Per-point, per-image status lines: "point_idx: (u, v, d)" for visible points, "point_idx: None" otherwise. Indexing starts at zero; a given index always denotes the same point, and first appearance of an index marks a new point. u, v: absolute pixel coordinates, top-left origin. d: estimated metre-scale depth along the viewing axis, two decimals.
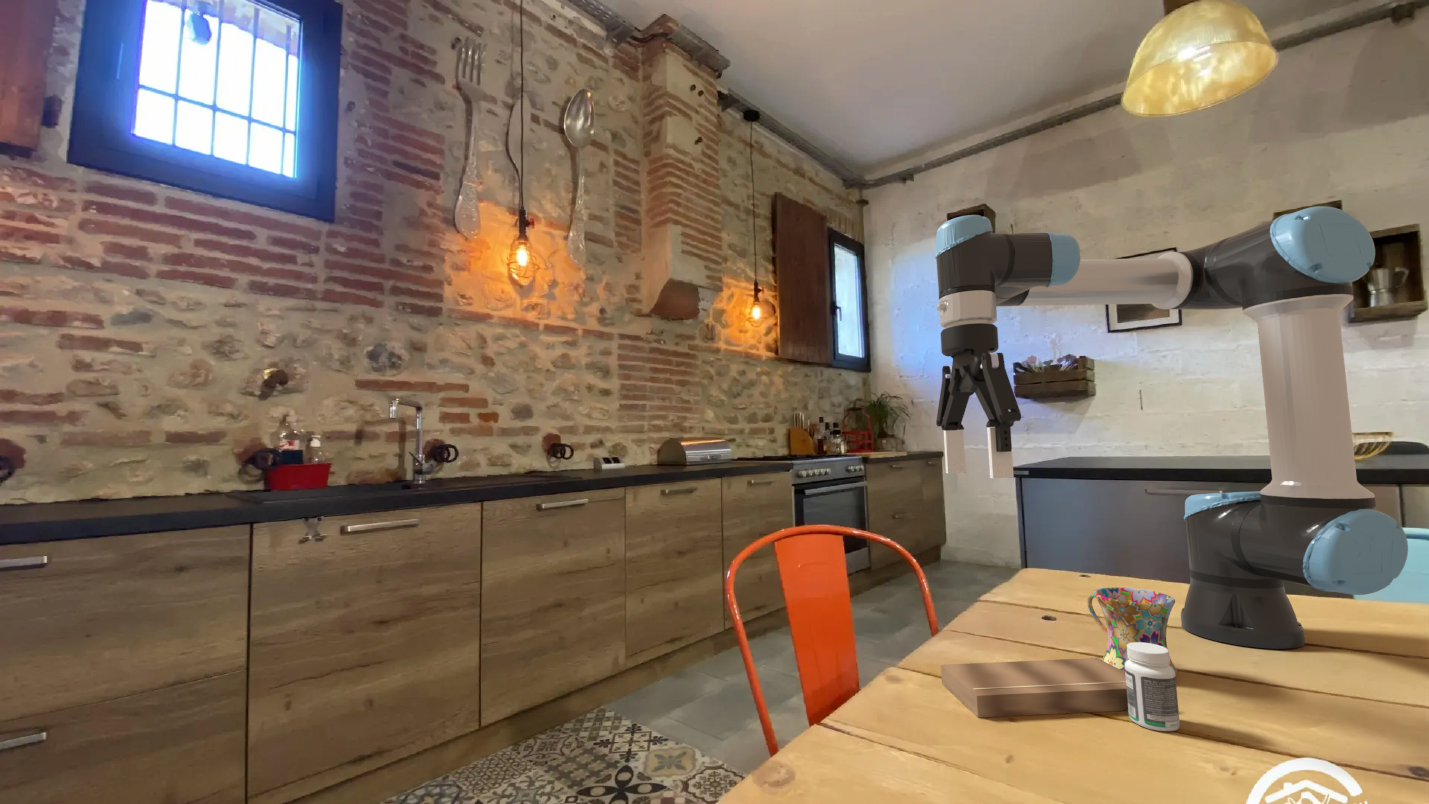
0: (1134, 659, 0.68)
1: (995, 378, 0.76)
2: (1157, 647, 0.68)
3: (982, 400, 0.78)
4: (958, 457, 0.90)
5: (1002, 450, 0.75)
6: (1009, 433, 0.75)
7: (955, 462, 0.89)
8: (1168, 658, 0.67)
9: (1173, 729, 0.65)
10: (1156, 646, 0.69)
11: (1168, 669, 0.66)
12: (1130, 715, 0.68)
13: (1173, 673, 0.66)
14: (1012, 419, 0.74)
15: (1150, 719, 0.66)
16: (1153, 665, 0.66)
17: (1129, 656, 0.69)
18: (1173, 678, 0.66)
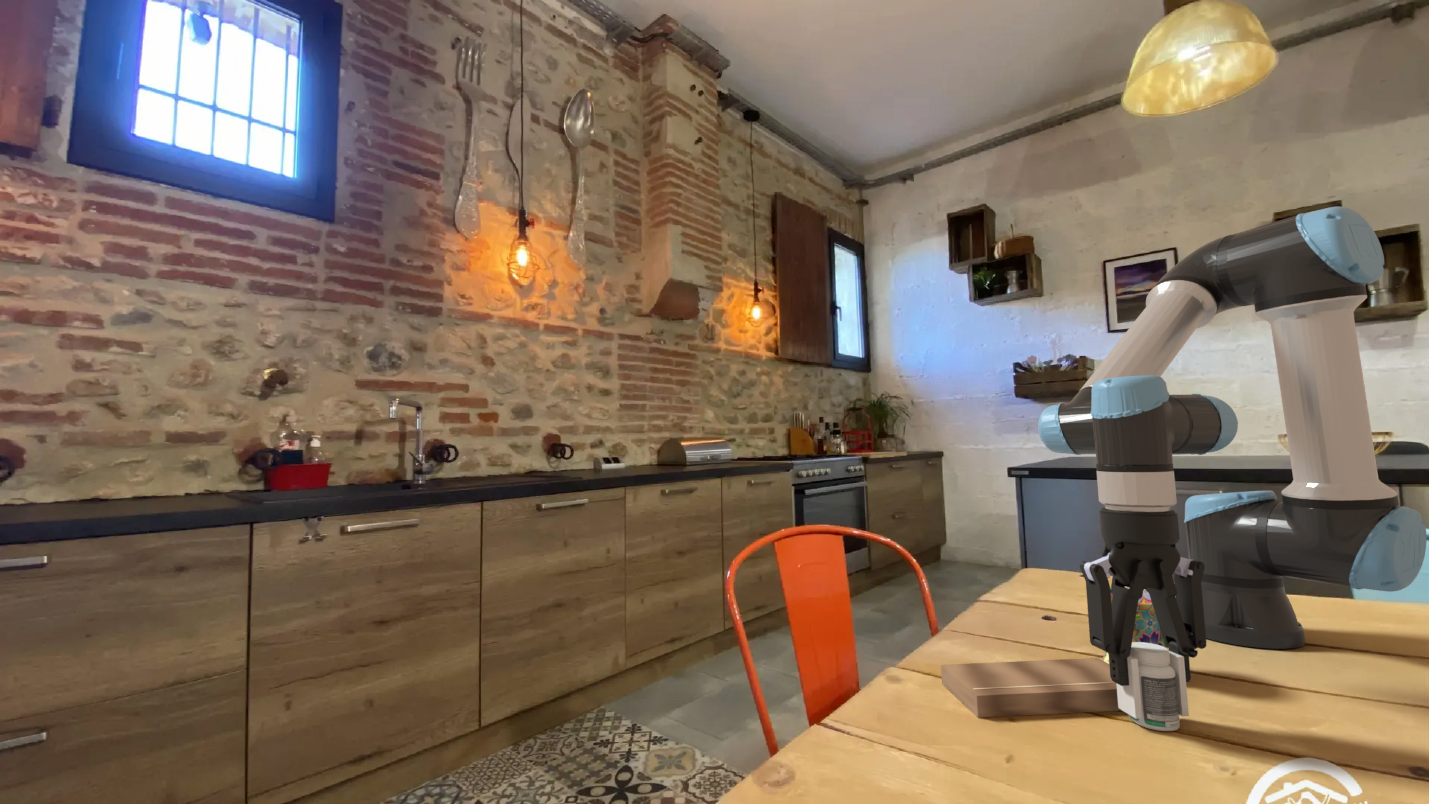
0: None
1: (1091, 595, 0.69)
2: (1157, 647, 0.68)
3: None
4: None
5: (1113, 680, 0.68)
6: (1116, 664, 0.67)
7: None
8: (1168, 658, 0.67)
9: (1173, 729, 0.65)
10: (1156, 646, 0.69)
11: (1168, 669, 0.66)
12: (1130, 715, 0.68)
13: (1173, 673, 0.66)
14: (1099, 648, 0.68)
15: (1150, 719, 0.66)
16: (1153, 664, 0.66)
17: None
18: (1173, 678, 0.66)
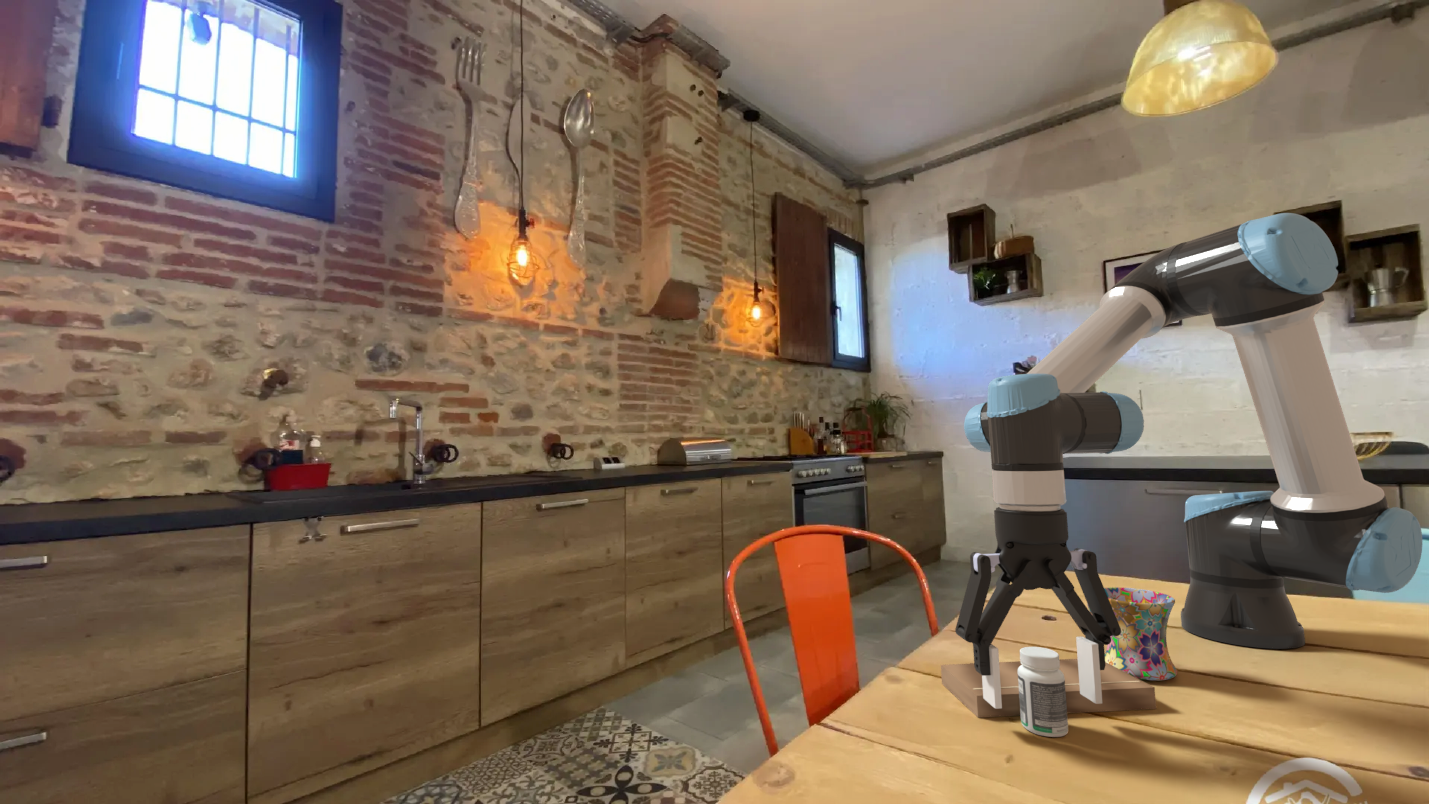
0: (1024, 664, 0.67)
1: (970, 585, 0.68)
2: (1049, 652, 0.68)
3: None
4: (1088, 678, 0.67)
5: (976, 670, 0.68)
6: (978, 654, 0.67)
7: (1086, 683, 0.68)
8: (1057, 663, 0.66)
9: (1060, 735, 0.65)
10: (1048, 651, 0.68)
11: (1057, 674, 0.66)
12: (1021, 720, 0.68)
13: (1061, 678, 0.66)
14: None
15: (1038, 724, 0.65)
16: (1042, 670, 0.66)
17: (1021, 661, 0.68)
18: (1061, 683, 0.65)
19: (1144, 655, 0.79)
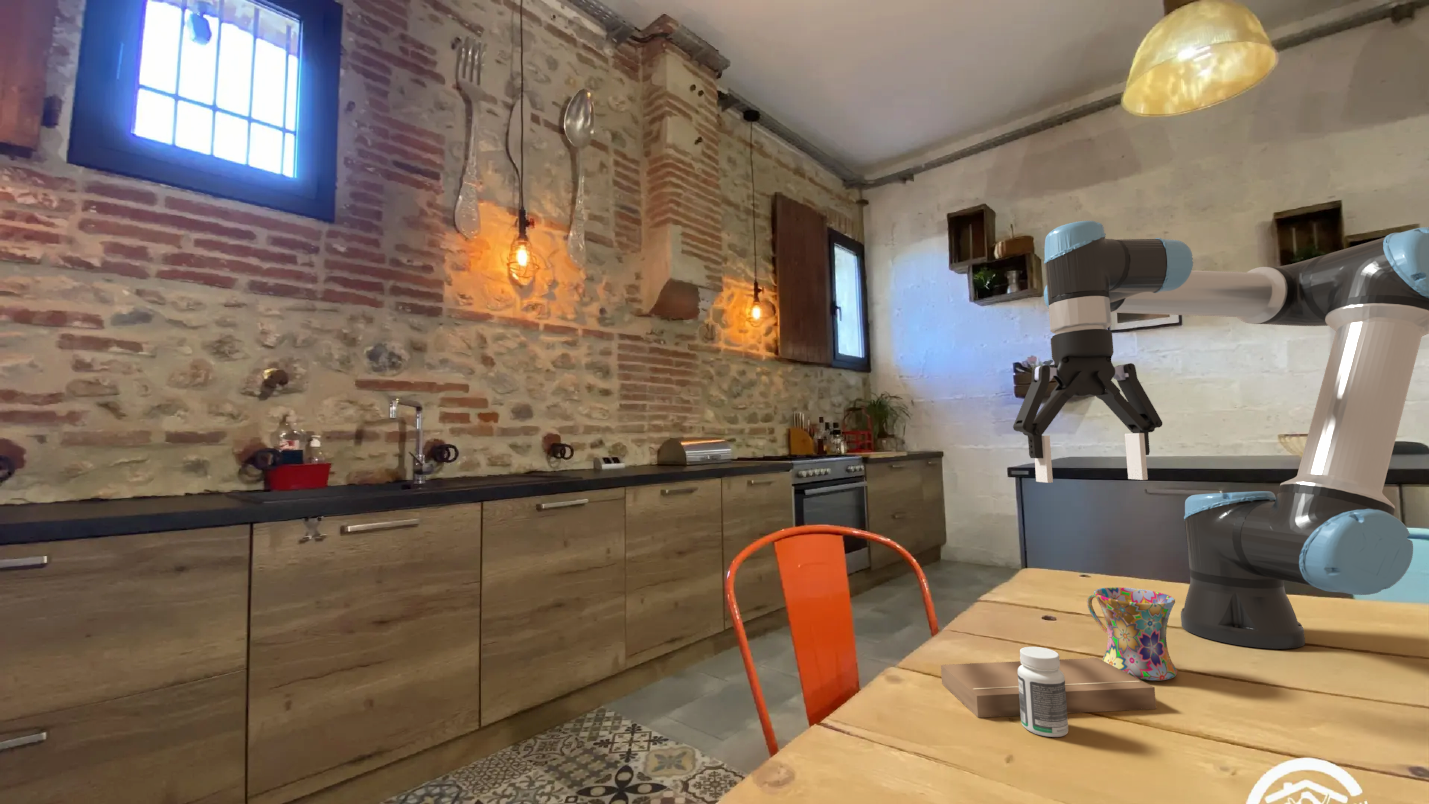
0: (1024, 664, 0.67)
1: (1030, 391, 0.84)
2: (1049, 652, 0.68)
3: None
4: (1136, 462, 0.83)
5: (1031, 456, 0.83)
6: (1033, 441, 0.83)
7: (1133, 467, 0.84)
8: (1057, 663, 0.66)
9: (1060, 735, 0.65)
10: (1048, 651, 0.68)
11: (1057, 674, 0.66)
12: (1021, 720, 0.68)
13: (1062, 678, 0.66)
14: (1020, 429, 0.83)
15: (1038, 724, 0.65)
16: (1042, 670, 0.66)
17: (1021, 661, 0.68)
18: (1061, 683, 0.65)
19: (1144, 655, 0.79)
